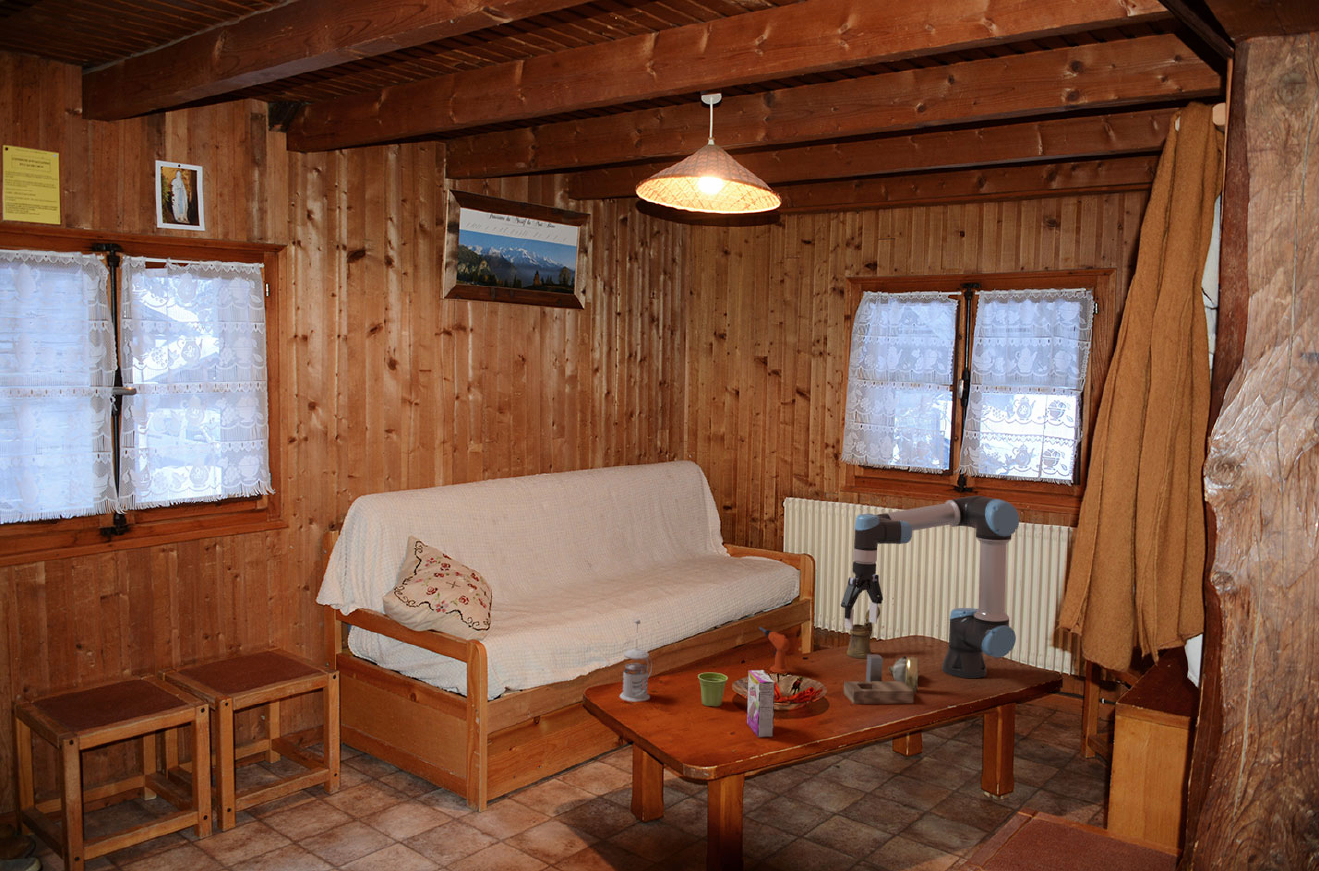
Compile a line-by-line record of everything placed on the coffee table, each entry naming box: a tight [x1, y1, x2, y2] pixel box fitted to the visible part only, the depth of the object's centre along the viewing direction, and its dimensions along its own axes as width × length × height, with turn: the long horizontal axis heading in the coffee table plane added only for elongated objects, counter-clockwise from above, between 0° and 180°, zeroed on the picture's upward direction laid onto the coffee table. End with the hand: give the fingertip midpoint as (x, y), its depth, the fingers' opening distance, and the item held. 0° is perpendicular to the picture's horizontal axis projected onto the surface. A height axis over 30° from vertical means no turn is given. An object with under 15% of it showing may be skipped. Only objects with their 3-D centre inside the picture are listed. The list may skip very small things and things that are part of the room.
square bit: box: [865, 654, 884, 681], centre depth 325 cm, size 4×4×11 cm
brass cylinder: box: [905, 656, 920, 694], centre depth 323 cm, size 4×4×11 cm
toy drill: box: [758, 626, 791, 673], centre depth 342 cm, size 5×18×14 cm, turn 28°
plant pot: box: [697, 671, 729, 707], centre depth 304 cm, size 9×9×9 cm
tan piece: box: [846, 606, 881, 659], centre depth 364 cm, size 9×14×18 cm, turn 125°
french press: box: [619, 619, 653, 703], centre depth 308 cm, size 10×12×25 cm
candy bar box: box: [746, 669, 776, 738], centre depth 282 cm, size 11×5×16 cm, turn 12°
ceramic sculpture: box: [887, 655, 920, 683], centre depth 335 cm, size 11×9×15 cm
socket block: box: [843, 680, 915, 705], centre depth 315 cm, size 20×10×4 cm, turn 97°
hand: (860, 625), depth 317 cm, fingers open, 13 cm apart
